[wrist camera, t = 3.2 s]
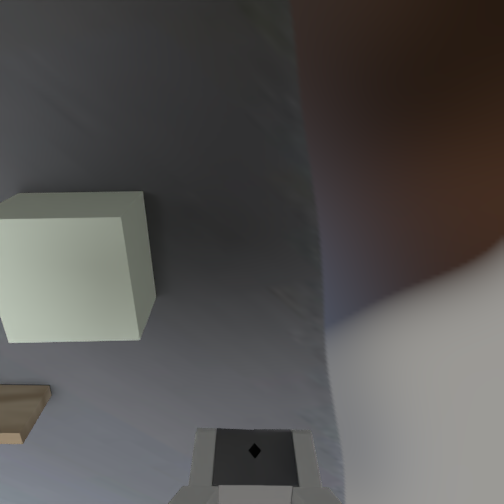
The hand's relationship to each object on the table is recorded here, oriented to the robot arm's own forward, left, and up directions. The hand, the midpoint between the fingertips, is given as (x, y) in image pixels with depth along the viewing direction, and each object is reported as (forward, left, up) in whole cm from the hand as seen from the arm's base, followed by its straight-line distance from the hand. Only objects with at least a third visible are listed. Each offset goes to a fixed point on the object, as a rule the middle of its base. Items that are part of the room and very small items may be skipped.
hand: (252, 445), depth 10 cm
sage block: (0, -8, -12) cm, 14 cm away
